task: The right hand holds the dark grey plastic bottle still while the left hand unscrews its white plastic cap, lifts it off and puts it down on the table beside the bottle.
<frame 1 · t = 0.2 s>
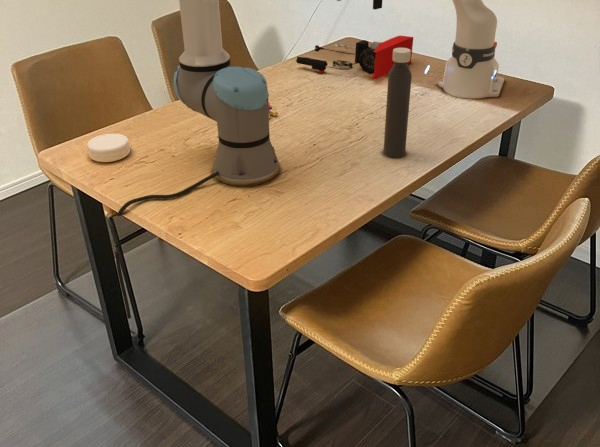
left hand: (358, 4, 166), 28 cm above the table, tool pointing down, fingers open, 13 cm apart
electric hoist: (353, 65, 210), on the table
bottle: (394, 153, 153), on the table
white round disc: (110, 154, 154), on the table
toy figure: (258, 112, 176), on the table
cap: (401, 51, 139), point 25 cm above the table, screwed on, not yet turned
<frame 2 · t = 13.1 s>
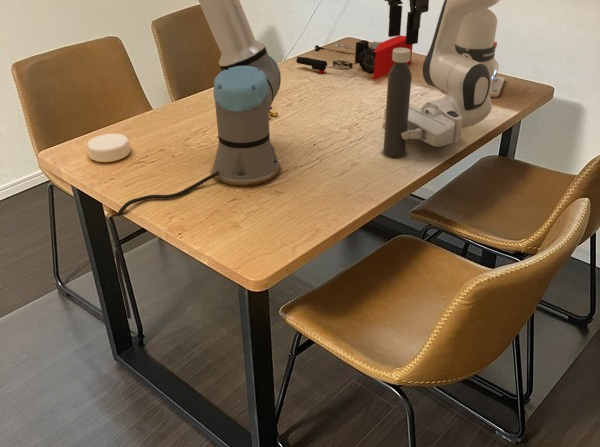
left hand: (402, 39, 138), 28 cm above the table, tool pointing down, fingers open, 6 cm apart
right hand: (393, 130, 149), 6 cm above the table, tool horizontal, fingers closed on bottle, 5 cm apart
bottle: (394, 152, 153), on the table, touching right hand
everything else where it was.
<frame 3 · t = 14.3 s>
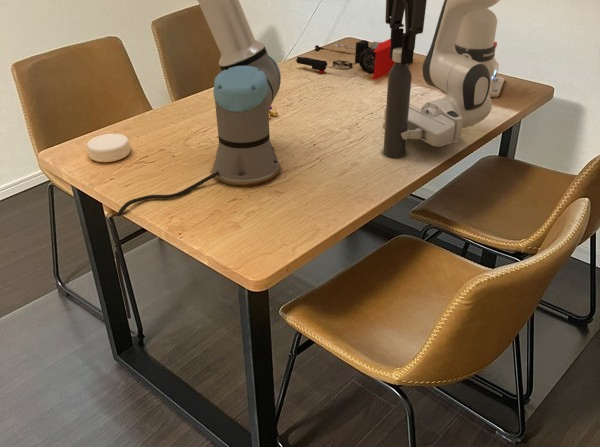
left hand: (401, 60, 141), 23 cm above the table, tool pointing down, fingers closed on cap, 4 cm apart
right hand: (393, 130, 149), 6 cm above the table, tool horizontal, fingers closed on bottle, 5 cm apart
bottle: (394, 152, 153), on the table, touching right hand
cap: (401, 51, 139), point 25 cm above the table, screwed on, not yet turned, touching left hand
everything else where it was.
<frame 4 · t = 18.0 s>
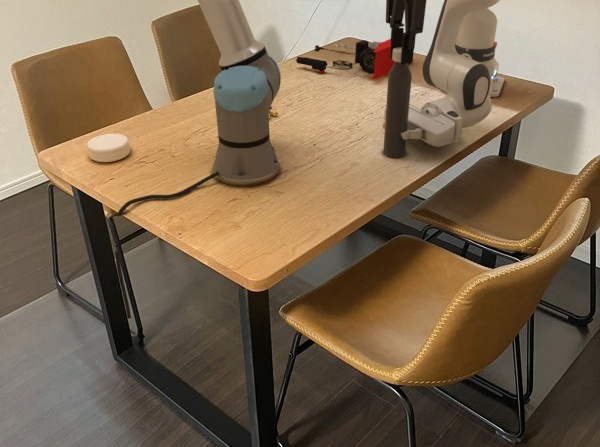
left hand: (401, 60, 140), 23 cm above the table, tool pointing down, fingers closed on cap, 4 cm apart
right hand: (393, 130, 149), 6 cm above the table, tool horizontal, fingers closed on bottle, 5 cm apart
bottle: (394, 152, 153), on the table, touching right hand
cap: (401, 51, 139), point 25 cm above the table, turned 106° so far, risen 0.1 cm, still on its thread, touching left hand
everything else where it was.
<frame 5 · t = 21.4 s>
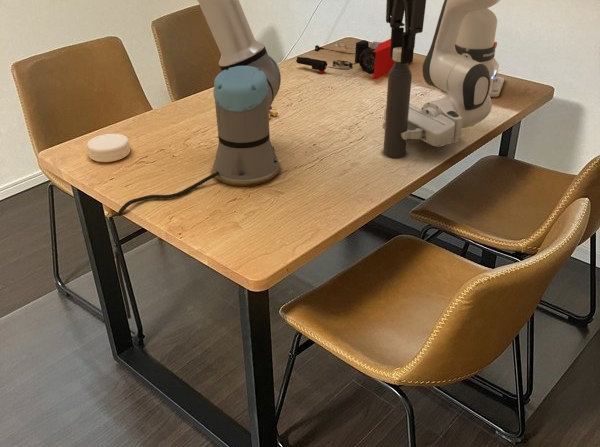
left hand: (401, 59, 140), 23 cm above the table, tool pointing down, fingers closed on cap, 4 cm apart
right hand: (393, 130, 149), 6 cm above the table, tool horizontal, fingers closed on bottle, 5 cm apart
bottle: (394, 152, 153), on the table, touching right hand
cap: (401, 50, 139), point 25 cm above the table, turned 212° so far, risen 0.2 cm, still on its thread, touching left hand
everything else where it was.
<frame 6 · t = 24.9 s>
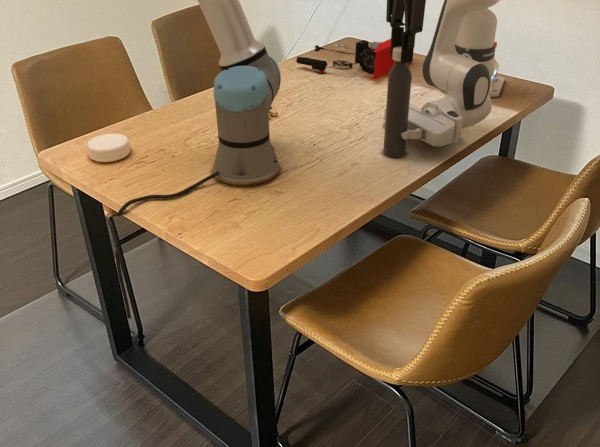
left hand: (401, 59, 140), 23 cm above the table, tool pointing down, fingers closed on cap, 4 cm apart
right hand: (393, 130, 149), 6 cm above the table, tool horizontal, fingers closed on bottle, 5 cm apart
bottle: (394, 152, 153), on the table, touching right hand
cap: (401, 50, 139), point 26 cm above the table, turned 317° so far, risen 0.3 cm, still on its thread, touching left hand
everything else where it was.
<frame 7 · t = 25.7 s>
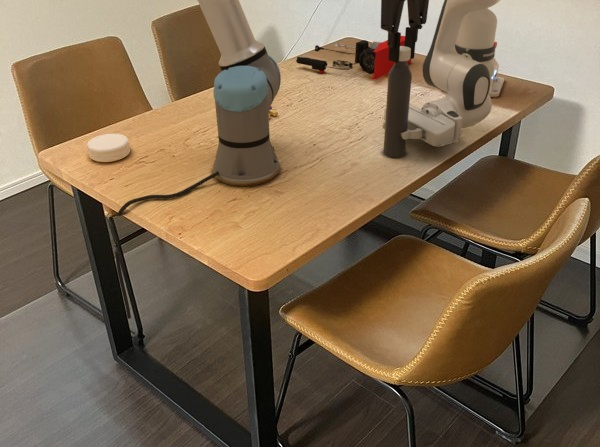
left hand: (401, 58, 140), 24 cm above the table, tool pointing down, fingers closed on cap, 4 cm apart
right hand: (393, 130, 149), 6 cm above the table, tool horizontal, fingers closed on bottle, 5 cm apart
bottle: (394, 152, 153), on the table, touching right hand
cap: (401, 49, 139), point 26 cm above the table, off its thread, touching left hand
everything else where it was.
when the left hand's fingers open (1 cm above the table, at t = 32.5 s): cap drops 1 cm, point 2 cm above the table.
when the right hand's fingers open (6 cm above the table, at t = 33.9 s): bottle stays where it is, on the table.
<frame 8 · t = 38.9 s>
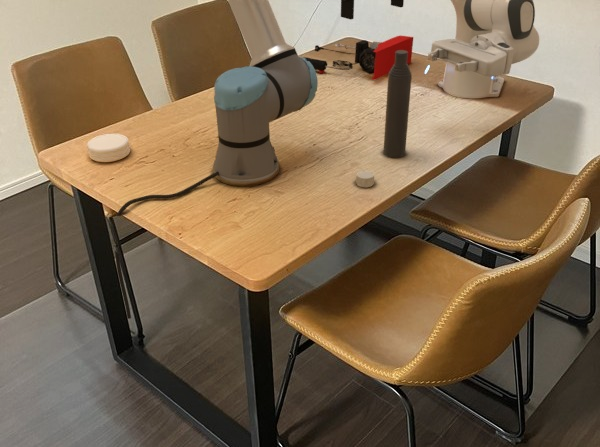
left hand: (372, 12, 120), 38 cm above the table, tool pointing down, fingers open, 13 cm apart
right hand: (443, 62, 148), 20 cm above the table, tool horizontal, fingers open, 8 cm apart
bottle: (394, 152, 153), on the table
cap: (365, 175, 139), point 2 cm above the table, off its thread
everything else where it was.
at the end: cap came off its thread; cap point 2.0 cm above the table; the left hand is holding nothing; the right hand is holding nothing; bottle tilted 0°; bottle moved 0.0 cm from its start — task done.
